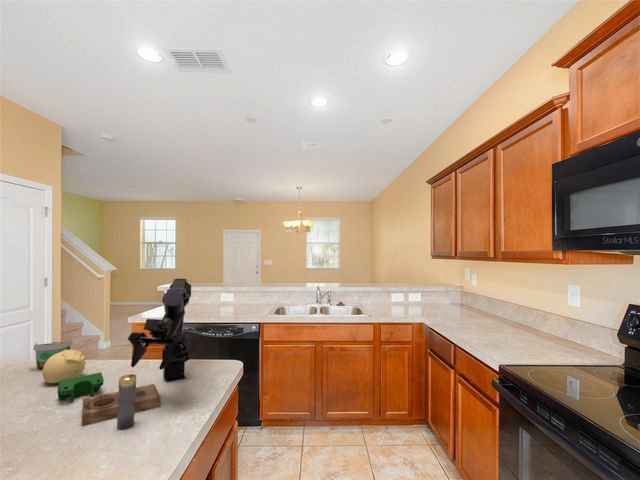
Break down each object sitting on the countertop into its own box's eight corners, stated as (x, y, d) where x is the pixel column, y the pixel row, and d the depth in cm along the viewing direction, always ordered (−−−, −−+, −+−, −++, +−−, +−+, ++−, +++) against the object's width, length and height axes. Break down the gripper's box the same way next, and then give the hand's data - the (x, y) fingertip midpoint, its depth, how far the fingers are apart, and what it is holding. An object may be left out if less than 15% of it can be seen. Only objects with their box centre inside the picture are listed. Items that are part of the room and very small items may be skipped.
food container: (26, 373, 117) (28, 346, 118) (32, 368, 123) (34, 342, 123) (67, 368, 123) (69, 343, 124) (71, 363, 129) (73, 339, 129)
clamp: (66, 416, 97) (53, 395, 93) (64, 404, 101) (51, 384, 97) (109, 392, 104) (99, 371, 100) (106, 382, 108) (96, 362, 104)
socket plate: (153, 393, 104) (154, 383, 104) (159, 406, 95) (160, 396, 95) (82, 409, 93) (82, 398, 93) (81, 425, 84) (82, 414, 84)
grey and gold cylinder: (133, 420, 87) (135, 373, 88) (134, 426, 84) (137, 377, 85) (116, 424, 85) (118, 376, 86) (117, 431, 82) (119, 381, 82)
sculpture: (83, 382, 111) (85, 352, 111) (39, 390, 104) (41, 357, 105) (85, 372, 120) (87, 343, 121) (44, 378, 114) (46, 348, 114)
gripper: (133, 306, 99) (103, 352, 88) (187, 309, 97) (163, 356, 86) (149, 325, 107) (122, 370, 96) (199, 328, 104) (179, 374, 93)
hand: (146, 367), depth 92 cm, fingers open, 9 cm apart
